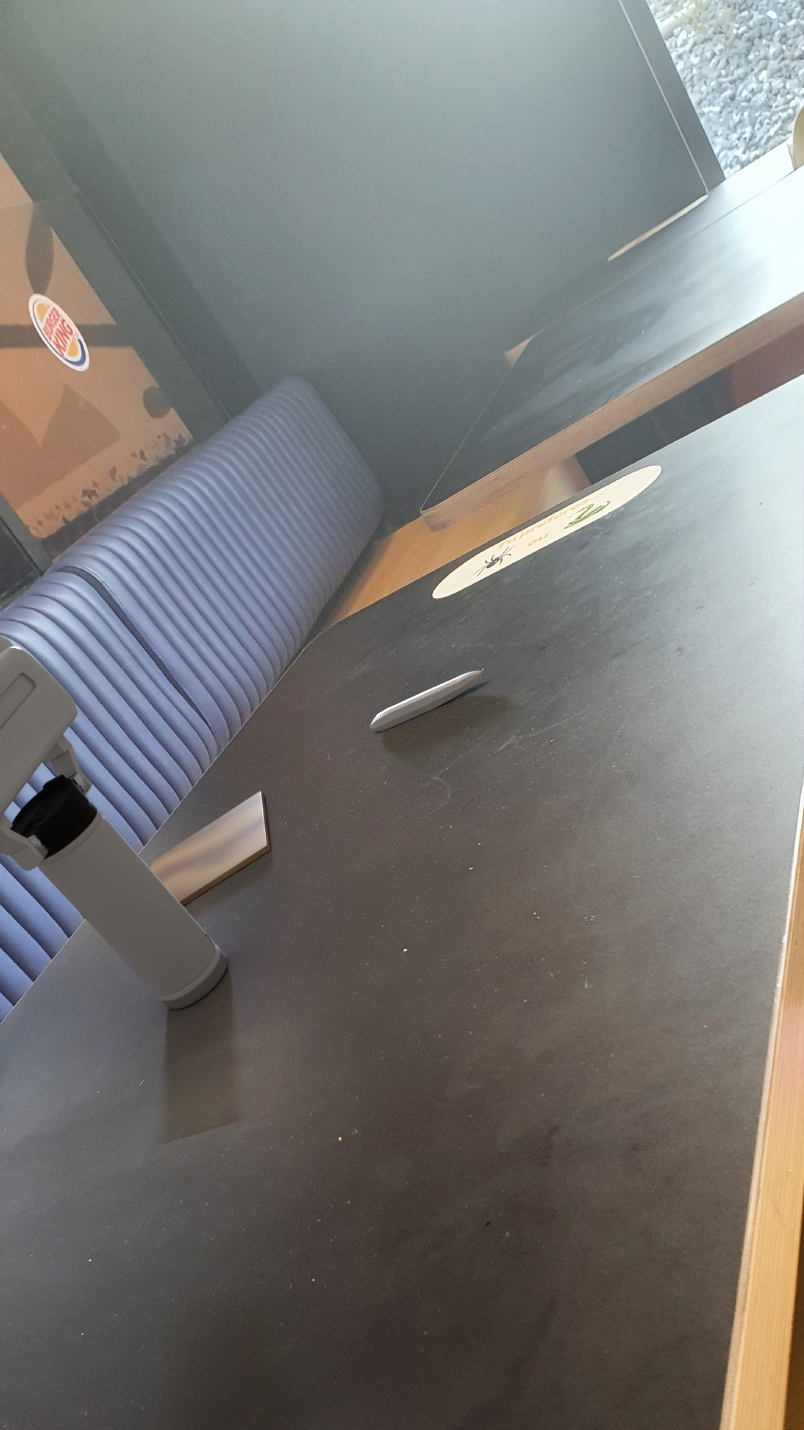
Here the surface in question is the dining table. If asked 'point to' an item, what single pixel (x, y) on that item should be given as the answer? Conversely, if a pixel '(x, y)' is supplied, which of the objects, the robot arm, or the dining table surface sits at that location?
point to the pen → (424, 701)
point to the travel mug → (120, 895)
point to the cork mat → (215, 851)
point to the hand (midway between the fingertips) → (61, 827)
